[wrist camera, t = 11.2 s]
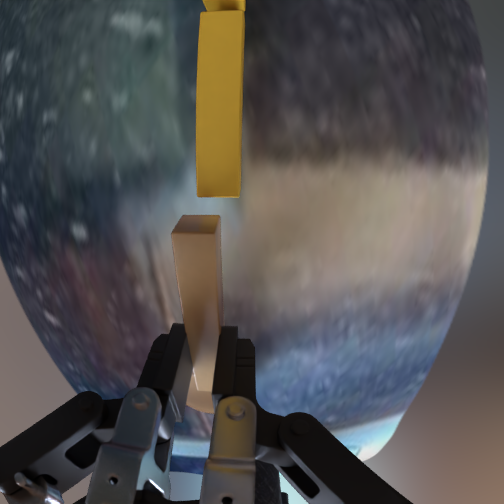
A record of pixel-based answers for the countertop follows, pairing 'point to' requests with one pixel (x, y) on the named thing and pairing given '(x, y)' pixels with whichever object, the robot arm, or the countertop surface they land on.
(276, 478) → the travel mug
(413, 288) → the countertop surface
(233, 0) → the bar
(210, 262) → the spoon
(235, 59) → the bar
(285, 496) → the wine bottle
